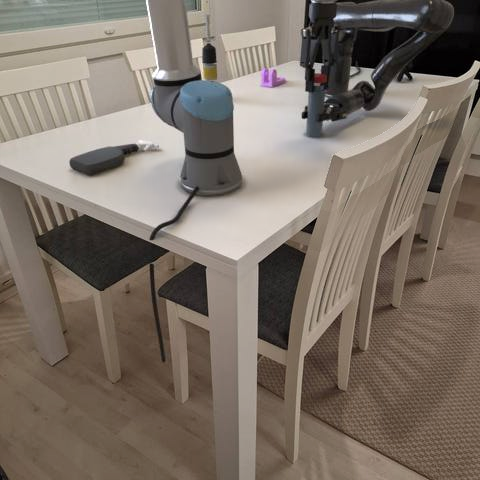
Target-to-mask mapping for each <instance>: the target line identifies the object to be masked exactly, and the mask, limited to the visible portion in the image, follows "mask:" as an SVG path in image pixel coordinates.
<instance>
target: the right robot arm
mask: <svg viewBox="0 0 480 480" xmlns="http://www.w3.org/2000/svg"><path fill="white" fill-rule="evenodd" d="M336 3H337V15H336V18H334V25H338V26H341V30H340V33H339V41H338V54H337V62H336V63H334V66H331V71H330V77H329V83H328V89H327V90H325V97H327V98H326V99H325V102H324V113H322V114H320V115H318V116H317V123H320V122H323V123H324V122H325V121H326V122H329V121H330V122H337V121H342V120H346V119H347V117H348V116H349V115H351V114H352V113H353V114H354V113H355V112H357V111H359V110H361V109H363V110H364V111H366V112H372V111H374V110H375V109H377V107H378V106H379V105H380V103H381V102H382V100H383V98H384V95H385V93H386V91H387V89H388V87H389V86H390V84H391V83H392V82H393V81H394V80H395V79H396V78H397V77H396V76H398V74H399V73H400V72H401V71H402V69H403V68H404V67H405V68H406V66H408V63H409V62H410V61H411V60H414V59H415V58H416V57H417V56H418V55H419V54H420V53H422V52H423V51H424V49H426V48H427V47H428V46H430V44H432V42H434V41H435V40H436V39H437V38H439V37H440V36H441V35H442V34H443V33H444V32H445V31H446V30H447V29H448V28H449V26H450V25H451V23H452V21H453V20H454V16H455V8H454V6H453V5H452V3H450V2H449V1H447V0H372V1H366V2H360V3H355V2H353V1H346V2H344V1H343V2H336ZM399 27H400V28H408V29H412V30H415V31H417V32H416V33H415V34H414V35H412V37H411V38H409V39H408V40H407V41H405V42H404V43H402V44H400V45H399V46H398V47H396V48H395V49H392V50H391V51H390V52H388V53H387V55H385V56H384V57H383V58H382V59H381V61H380V62H379V63H378V64H377V66H376V67H375V68H374V69H373V71H372V72H371V74H370V80H371V81H372V84H373V85H372V84H371V83H370V82H369V81H368V80H360V81H358V82H357V83H356V84H355V85H354V86H353V87H352V88H351V89H350V90H349V86H350V78H352V77H354V76H357V75H359V74H360V72H361V70H362V69H361V67H360V66H359V65H358V63H359V62H358V61H357V60H356V61H355V67H356V68H357V69H358V70H357V72H354V73H353V74H351V67H352V60H353V59H352V57H353V49H354V44H355V42H356V38H357V34H358V30H359V31H369V32H389V31H391V30H393V29H395V28H399ZM332 58H333V57H332ZM395 77H396V78H395ZM394 78H395V79H394ZM307 109H308V104H307V105H306V106H304V111H302V112H301V120H307Z"/></svg>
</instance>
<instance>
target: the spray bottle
mask: <svg viewBox="0 0 480 480" xmlns="http://www.w3.org/2000/svg"><path fill="white" fill-rule="evenodd" d="M159 148H160V145H159V144H158V143H155V142H151V141H148V140H144V139H139V140H138V141H137V142H135V143H129V144H128V143H126V144H122V145H113V146H105V147H100V148H97V149H94V150H90V151H87V152H83V153H81V154H78V155H74V156H73V157H70V159H69V161H68V162H69V167H70V168H71V169H72V170H74V171H75V172H78V173H81V174H83V175H85V176H89V177H90V176H91V177H92V176H95V175H99V174H102V173H105V172H107V171H110V170H113V169H116V168H118V167H120V166H122V165H123V164H124V163H125V158H126V156H127V155H131V154H133V153H138V151H140V150H143V151H144V152H146V151H147V150H149V149H159Z"/></svg>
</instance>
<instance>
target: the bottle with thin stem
mask: <svg viewBox="0 0 480 480" xmlns="http://www.w3.org/2000/svg"><path fill="white" fill-rule="evenodd" d="M210 17H211V14H204V18H205V27H206V29H205V30H206V31H205V33H206V39H207V40H206V42H207V43H206V45H204V46H202V49H201V50H202V51H201V52H202V54H201V55H202V57H201V58H202V61H201V63H202V71H203V72H202V73H203V74H202V75H203V80H206V81H211V82H216V80H218V64H216V63H218V61H217V48H216V47H215V46H214V45H212V43H210V42H211V40H210V39H211V31H210V29H211V28H210Z"/></svg>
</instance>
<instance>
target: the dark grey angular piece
mask: <svg viewBox="0 0 480 480" xmlns="http://www.w3.org/2000/svg"><path fill="white" fill-rule="evenodd" d="M412 60H413V59H412ZM412 60H411V61H410V62H409V63H408V64H407V67H406V66H405V67H404V68H403V69H402V70H401V71H400V73H399V74H398V75H397V76H396V77H395V78H394V80H395V79H396V81H397V82H399V83H400V82H402V81H403V79H404V76H406V78H407V80H408V81H412V80H413V79H414V77H413V75H412V74H411V73H410V72H409V71H410V70H412V69H413V68H414V64H413V61H412Z"/></svg>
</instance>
